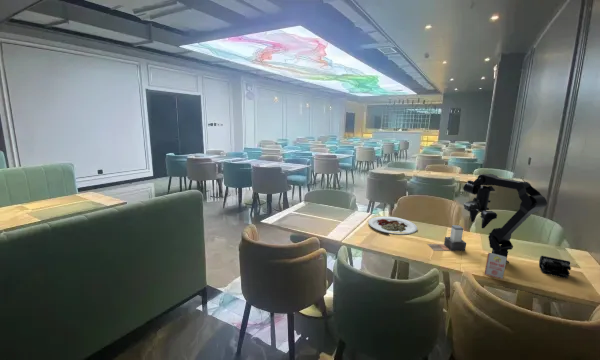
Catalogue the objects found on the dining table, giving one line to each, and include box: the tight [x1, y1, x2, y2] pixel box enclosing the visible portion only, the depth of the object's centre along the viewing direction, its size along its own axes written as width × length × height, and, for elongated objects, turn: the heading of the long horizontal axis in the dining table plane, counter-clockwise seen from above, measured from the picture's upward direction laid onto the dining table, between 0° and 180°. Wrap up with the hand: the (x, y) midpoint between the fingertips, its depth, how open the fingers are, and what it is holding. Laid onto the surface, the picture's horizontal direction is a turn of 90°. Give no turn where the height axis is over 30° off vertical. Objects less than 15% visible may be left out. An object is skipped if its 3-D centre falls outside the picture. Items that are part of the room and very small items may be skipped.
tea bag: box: [484, 252, 508, 280], centre depth 127 cm, size 4×7×10 cm, turn 53°
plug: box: [449, 224, 464, 242], centre depth 151 cm, size 4×4×12 cm
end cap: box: [538, 255, 572, 280], centre depth 130 cm, size 10×7×7 cm
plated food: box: [368, 216, 418, 235], centre depth 182 cm, size 30×30×3 cm
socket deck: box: [427, 236, 467, 252], centre depth 152 cm, size 8×17×6 cm, turn 90°
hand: (477, 224), depth 152 cm, fingers open, 9 cm apart
